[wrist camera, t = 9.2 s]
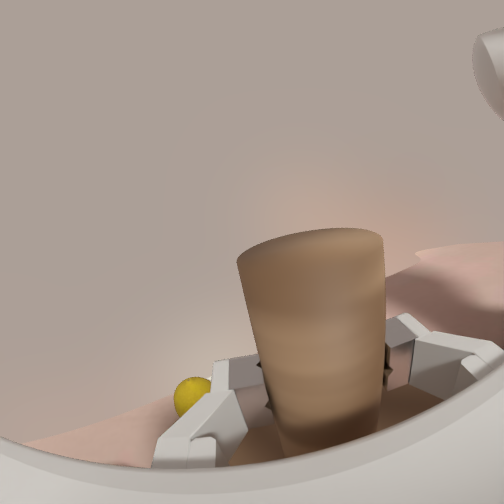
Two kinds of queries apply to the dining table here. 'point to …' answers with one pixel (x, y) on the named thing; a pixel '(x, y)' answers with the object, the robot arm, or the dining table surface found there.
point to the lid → (321, 342)
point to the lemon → (190, 393)
